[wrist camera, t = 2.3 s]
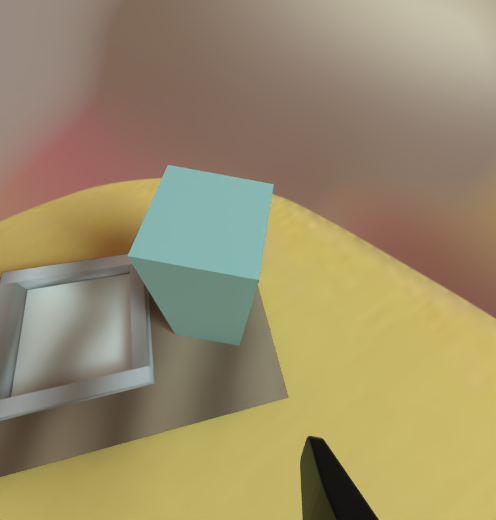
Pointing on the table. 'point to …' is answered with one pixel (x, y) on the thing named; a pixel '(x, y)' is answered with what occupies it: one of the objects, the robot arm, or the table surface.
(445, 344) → the table surface
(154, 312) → the baseboard
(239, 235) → the pillar
